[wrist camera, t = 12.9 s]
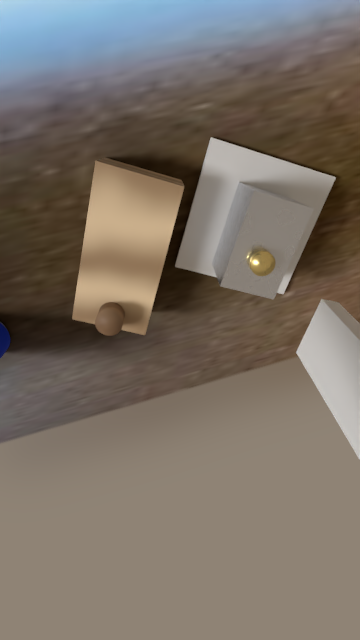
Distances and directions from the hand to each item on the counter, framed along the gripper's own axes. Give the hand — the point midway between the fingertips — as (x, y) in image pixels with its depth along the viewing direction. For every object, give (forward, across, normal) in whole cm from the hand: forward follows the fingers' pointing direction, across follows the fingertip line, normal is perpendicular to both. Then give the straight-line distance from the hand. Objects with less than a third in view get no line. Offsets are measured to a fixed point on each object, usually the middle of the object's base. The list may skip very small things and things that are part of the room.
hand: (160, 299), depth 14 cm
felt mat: (+21, +9, 0) cm, 23 cm away
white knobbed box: (+20, +9, -1) cm, 22 cm away
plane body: (+21, -2, -5) cm, 22 cm away
